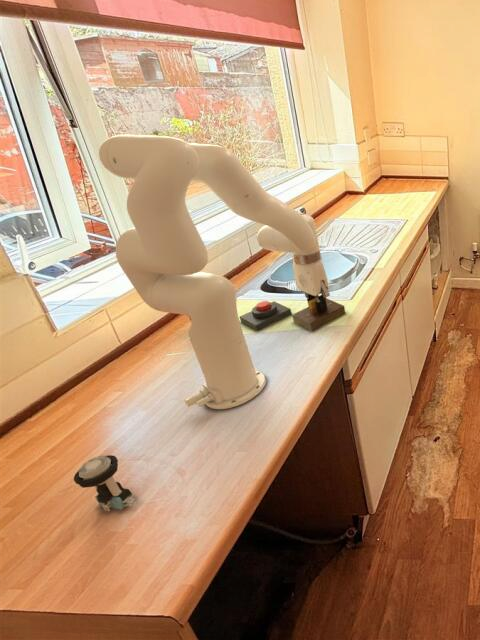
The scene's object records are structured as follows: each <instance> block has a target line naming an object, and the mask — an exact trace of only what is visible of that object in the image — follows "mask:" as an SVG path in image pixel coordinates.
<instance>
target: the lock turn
mask: <svg viewBox="0 0 480 640" xmlns="http://www.w3.org/2000/svg"><path fill="white" fill-rule="evenodd" d="M315 302H317V301H316V298H315V299H313V300H311V301H309V302H307V307H309V310H310V313H311V314H314V313H316V312H317V309H316V304H315Z"/></svg>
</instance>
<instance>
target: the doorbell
mask: <svg viewBox="0 0 480 640" xmlns="http://www.w3.org/2000/svg"><path fill="white" fill-rule="evenodd" d="M270 306H271V308H270V309H268V310H266V311H258V310H257V306H256V305H255V306H254V307H252V309H251V311H249V312H246V313H244V314H242V315H240V316H239V321H240V324H243V325H245V326H247V327H248V328H251V329H252V330H254V331H256V332H259V331H261V330H263V329H265V328H267V327H270V326H271V325H273V324H275V323H278V322H279V321H281V320H283V319H286V318H288V317H290V316H291V315H293V313H292V310H291V308H289V307H288V306H285V305H283V304H280V303H278V302H277V301H270Z"/></svg>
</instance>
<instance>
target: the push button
mask: <svg viewBox="0 0 480 640" xmlns="http://www.w3.org/2000/svg"><path fill="white" fill-rule="evenodd" d="M118 462H119V460H118V458H117V456H115V455H112V454H111V455H110V454H108V455H98V456H96V457H95V456H94V457H93V458H90V459H89V460H87V461H86V462H84V463H83V464H82V465H81V466H80V467H79V469H78V470H77V471H76V472H75V474H74V477H73V481H74V483H75V484H77V485H79V487H81V488H82V489H86V488H93V487H94V488H95V491H96V493H97V494H96V495H95V496H94V498H95V499H96V501H97V502H98V505H99V506H100V507H102V508H103V510H104V511H106V512H111V509H117V510H121V511H122V510H124V509H125V508H126V507H134V506H136V504H137V503H138V502H137V501H135V500H136V498H134V497H132V496H133V494H132V491H131V490H130V489H129V488H124V487H123V485H122V484H121V483H120V481H116V480H115V478H114V477H113V476H114V475H115V474H116V473H117V471H118V467H119V463H118Z"/></svg>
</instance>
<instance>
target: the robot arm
mask: <svg viewBox="0 0 480 640" xmlns="http://www.w3.org/2000/svg"><path fill="white" fill-rule="evenodd" d="M98 156H99V160H100V162H101V164H102V165H103V167H104V168H105V169H106V170H107V171H108V172H109V173H111V174H113V175H114V176H117V177H118V178H120V179H121V178H122V179H126V180H131V181H133V182H132V185H131V186H130V189H129V191H128V195H127V198H126V210H127V214H128V216H129V219H130V221H131V223H132V224H133V226H134V227H131V228H129V229H127V230H125V231H124V232H123V233H121V235H120V236H119V238H118V239H117V241H116V244H115V257H116V260H117V263H118V265H119V266H120V268H121V270H122V271H123V273H124V274H125V276H126V277H127V279H128V280H129V282H130V283H131V285H132V287H133V288H134V289H135V291H136V292H137V294H138V295H139V297H140V298H141V300H142V301H143V302H144V303H145V304H146V305H147V306H148V307H150V308H151V309H152V310H155V311H157V312H161V313H169V314H174V315H175V314H176V315H181V316H185V317H186V316H187V317H188V318H189V317H190V318H189V320H190V319H191V321H190V326H189V330H188V338H189V341H190V343H191V347H192V348H193V351H194V354H195V356H196V360H197V361H198V364H199V367H200V369H201V372H202V374H203V378H204V379H205V382H203V383H202V387H203V388H201V389H199V392H197V393H195V394H192V395H191V396H189V397H187V398H185V399H184V403H185V405H186V406H187V407H188V408H190V407H192V406H194V405H197V406H198V407H199V408H201V407H202V406H204V405H205V406H207V407H208V408H210V409H215V410H225V409H226V410H227V409H231V408H234V407H238V406H240V405H243V404H245V403H248V402H249V401H251V400H253V399H254V398H255V397H257V395H259V394H260V393H261V392H262V390H263V389H264V388H265V385H266V383H267V379H266V376H265V374H264V373H263V372H262V371H259V370H257V369H255V366H254V363H253V359H252V357H251V354H250V350H249V347H248V344H247V341H246V338H245V335H244V331H243V328H242V325H241V320H240V316H239V314H238V308H237V305H238V304H237V291H236V288H235V286H234V284H233V282H232V281H230V280H229V279H228V278H227V277H224V276H222V275H220V274H216V273H212V272H211V273H210V272H203V270H204V269H205V268H206V267H207V264H208V262H209V251H208V249H207V247H206V245H205V243H204V240H203V239H202V236H201V234H200V232H199V231H198V229H197V227H196V225H195V223H194V221H193V219H192V216H191V215H190V212H189V210H188V208H187V207H188V206H187V204H186V196H187V191H188V188H189V186H190V184H191V183H196V184H197V183H198V184H204V185H206V186H207V187H208V188H209V190H211V192H213V193H214V194H215V195H216V196H217V197H218V198H219V199H220V200H221V201H222V202H223V203H224V205H226V206H227V207H228V209H229V210H230V211H231V212H232V213H234V214H235V215H237V216H240V217H242V218H243V219H246V220H248V221H251V222H255V223H258V224H261V225H264V226H262V227H261V228H260V229H259V230H258V232H257V234H256V242H257V244H258V246H259V247H261V248H262V249H264V250H266V251H271V252H279V253H289V254H291V256H292V267H293V269H292V270H293V275H294V281H295V286H296V288H297V290H299V291H301V292H303V293H304V297H305V298H306V301H307V303H308V302H309V301H311V300H313V299H315V298H316V301H317V302H315V304H316V309H317V313H321V312H323V311H325V310H327V304H326V298H328V297H330V296H331V294H330V292H329V289H330V288H329V280H328V276H327V272H326V269H325V266H324V264H323V261H322V259H323V258H322V253H321V248H320V243H319V237H318V232H317V227H316V223H315V219H314V218H313V217H312V215H309V214H301V213H300V212H299V211H297V210H296V209H294V208H293V207H292V206H290V205H289V204H287V203H285V202H284V201H282V200H281V199H278V198H277V197H276V196H274V195H272V194H270V193H268V192H267V191H266V190H265V189H264V188H263V186H262V185H261V184H260V183H259V182H258V181H257V180H256V178H255V177H254V176H253V175H252V173H250V171H249V170H248V168H246V166H245V164H243V163H242V162H241V160H240V159H239V158H238V157H237V156H236V154H235V153H234V152H233V151H231V150H230V149H229V148H227V147H226V146H222V145H218V144H208V143H192V142H191V143H189V142H187V141H185V140H184V139H181V138H177V137H174V136H167V135H166V136H165V135H143V134H116V135H113V136H110V137H108V138H106V139H105V140H103V142H102V143H101V145H100V146H99V149H98Z"/></svg>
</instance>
